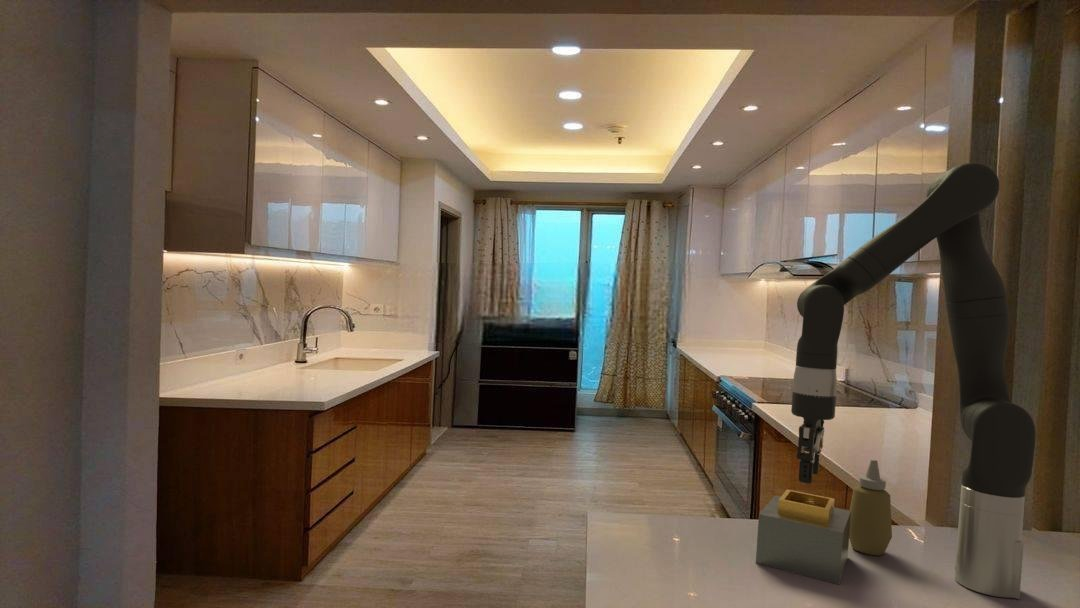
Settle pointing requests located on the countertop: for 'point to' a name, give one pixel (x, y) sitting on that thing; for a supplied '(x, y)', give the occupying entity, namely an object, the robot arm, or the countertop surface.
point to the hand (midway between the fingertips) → (808, 477)
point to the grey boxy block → (804, 536)
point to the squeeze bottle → (870, 514)
